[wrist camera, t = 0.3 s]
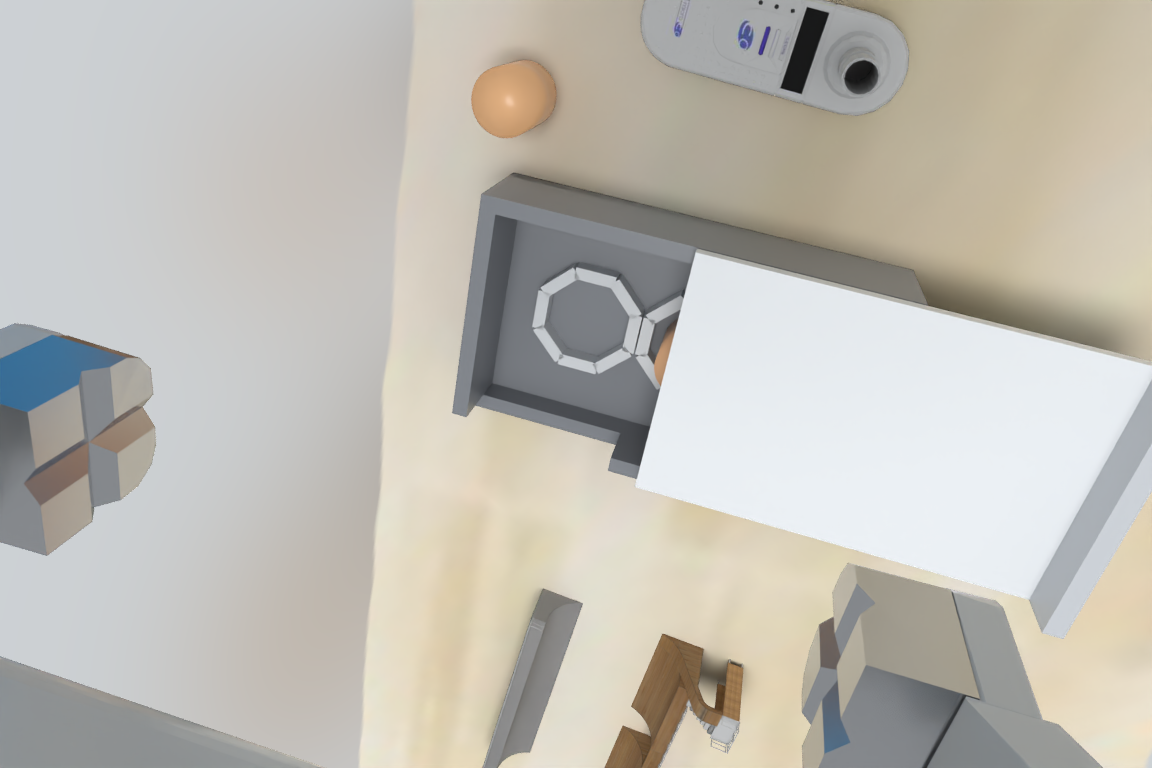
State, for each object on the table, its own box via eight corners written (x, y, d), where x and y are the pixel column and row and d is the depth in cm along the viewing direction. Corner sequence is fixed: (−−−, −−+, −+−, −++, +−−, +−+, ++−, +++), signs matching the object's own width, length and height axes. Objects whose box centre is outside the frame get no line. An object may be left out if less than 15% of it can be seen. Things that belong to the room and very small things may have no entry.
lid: (696, 248, 48) (689, 268, 45) (1176, 367, 45) (1207, 398, 42) (636, 480, 55) (626, 512, 52) (1045, 597, 52) (1063, 639, 49)
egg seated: (671, 308, 56) (662, 332, 52) (730, 323, 55) (726, 349, 51) (657, 361, 58) (647, 389, 54) (715, 377, 57) (709, 406, 53)
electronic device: (627, -50, 40) (942, 32, 38) (662, -43, 49) (920, 24, 47) (601, 66, 43) (895, 148, 41) (638, 53, 51) (883, 121, 49)
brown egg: (499, 54, 53) (476, 59, 49) (561, 67, 52) (542, 74, 48) (491, 119, 54) (467, 129, 51) (550, 133, 54) (531, 144, 50)
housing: (513, 172, 56) (481, 193, 50) (913, 270, 52) (928, 304, 47) (481, 385, 63) (450, 425, 57) (831, 482, 60) (835, 535, 54)
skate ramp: (505, 516, 68) (474, 573, 61) (931, 674, 65) (947, 752, 58) (438, 753, 82) (407, 821, 75) (788, 892, 79) (788, 976, 72)
